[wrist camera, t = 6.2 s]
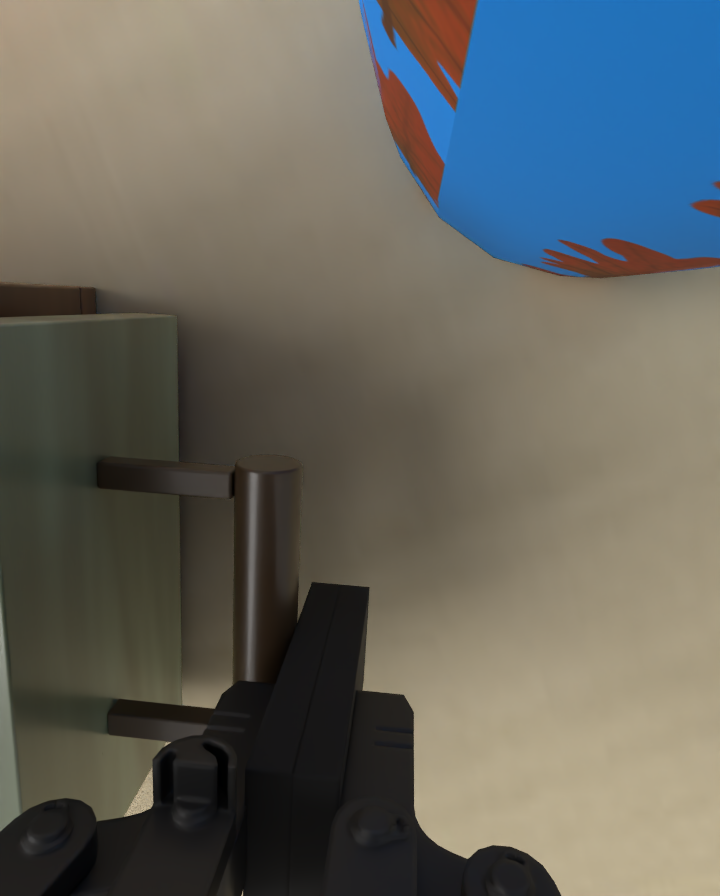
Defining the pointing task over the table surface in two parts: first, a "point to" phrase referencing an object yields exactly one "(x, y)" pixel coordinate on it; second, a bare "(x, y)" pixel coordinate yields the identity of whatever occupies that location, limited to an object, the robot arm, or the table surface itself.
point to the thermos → (560, 126)
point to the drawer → (115, 558)
